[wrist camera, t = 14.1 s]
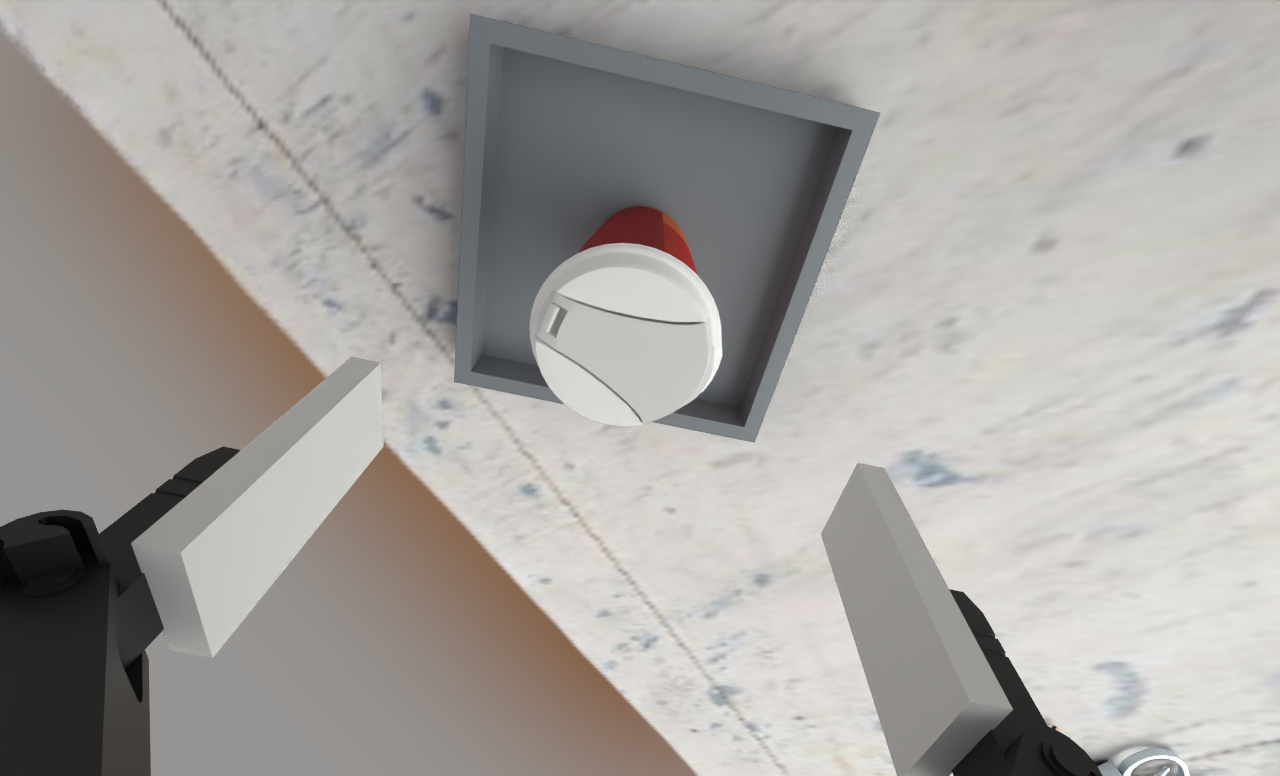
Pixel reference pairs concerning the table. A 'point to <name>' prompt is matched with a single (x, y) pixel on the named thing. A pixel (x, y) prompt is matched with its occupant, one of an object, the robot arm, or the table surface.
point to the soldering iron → (1127, 766)
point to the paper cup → (627, 323)
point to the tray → (644, 199)
